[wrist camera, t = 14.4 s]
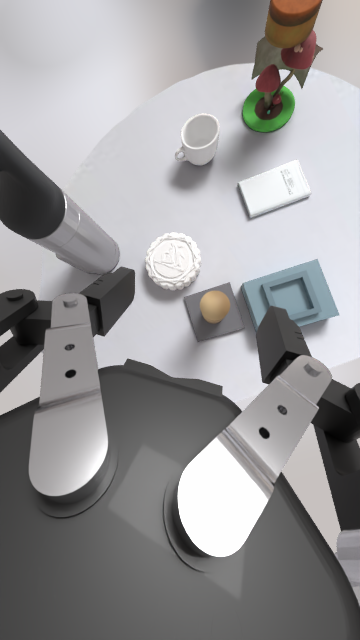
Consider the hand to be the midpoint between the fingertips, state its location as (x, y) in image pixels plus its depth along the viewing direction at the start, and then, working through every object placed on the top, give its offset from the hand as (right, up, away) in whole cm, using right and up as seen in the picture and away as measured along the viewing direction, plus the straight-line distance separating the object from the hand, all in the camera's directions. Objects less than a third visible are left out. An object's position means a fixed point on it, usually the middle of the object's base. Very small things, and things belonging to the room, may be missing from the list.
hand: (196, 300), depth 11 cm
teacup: (+3, +36, +33) cm, 49 cm away
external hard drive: (+19, +26, +31) cm, 44 cm away
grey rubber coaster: (+6, 0, +30) cm, 30 cm away
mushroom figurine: (+19, +45, +31) cm, 58 cm away
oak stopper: (+6, 0, +29) cm, 30 cm away
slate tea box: (+20, +3, +28) cm, 34 cm away
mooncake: (-2, +11, +32) cm, 34 cm away
